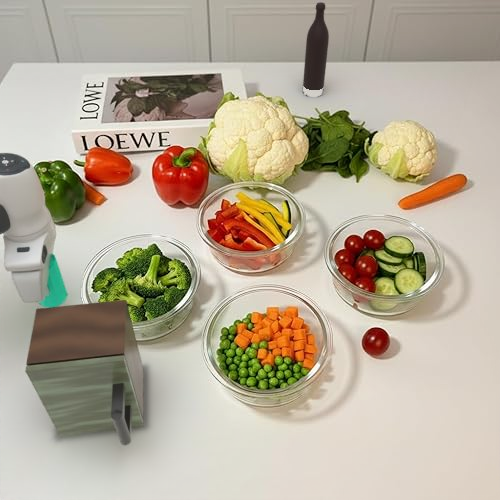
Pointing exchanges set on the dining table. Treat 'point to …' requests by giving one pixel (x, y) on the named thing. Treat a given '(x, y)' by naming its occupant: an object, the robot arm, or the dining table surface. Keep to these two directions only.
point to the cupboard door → (88, 396)
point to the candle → (55, 286)
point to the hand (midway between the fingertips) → (47, 281)
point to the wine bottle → (316, 51)
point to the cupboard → (87, 337)
